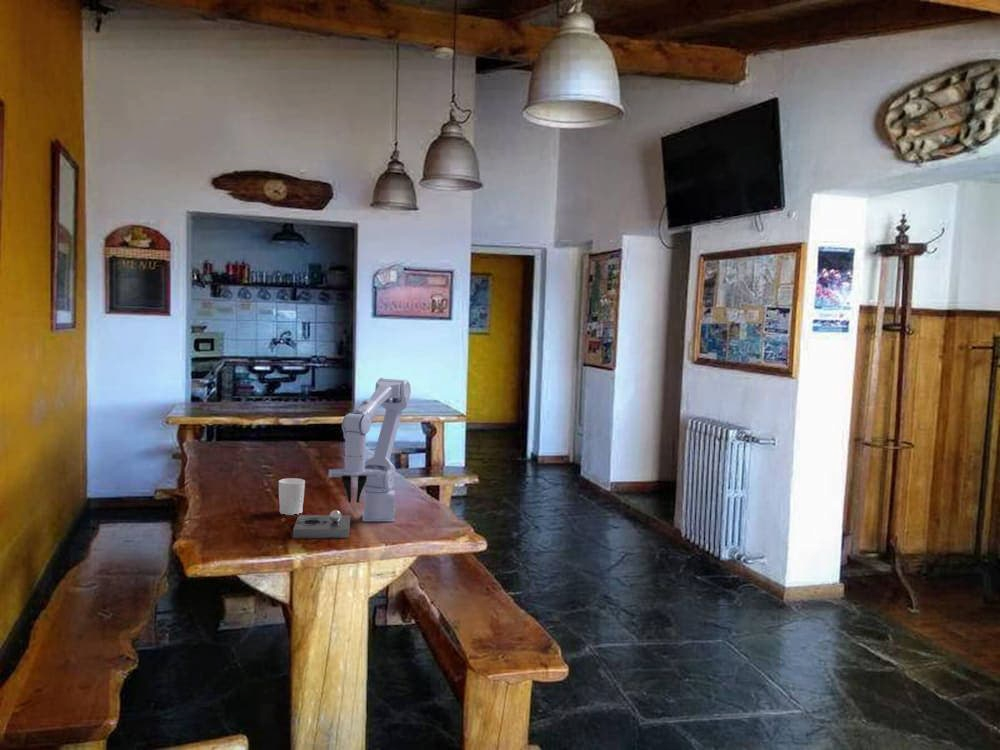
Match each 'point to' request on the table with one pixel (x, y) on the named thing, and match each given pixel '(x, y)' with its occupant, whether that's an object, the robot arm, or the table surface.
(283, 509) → the white cup
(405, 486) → the table surface
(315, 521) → the hole plate
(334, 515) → the steel ball
